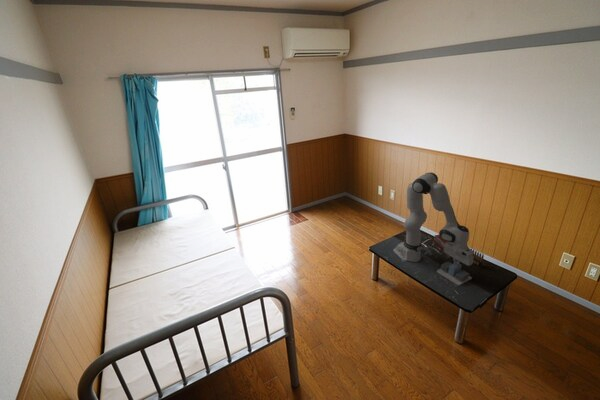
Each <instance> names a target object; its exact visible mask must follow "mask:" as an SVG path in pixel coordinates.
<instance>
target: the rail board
mask: <svg viewBox="0 0 600 400" xmlns="http://www.w3.org/2000/svg"><path fill="white" fill-rule="evenodd" d="M452 264H453V263H452V262H451V261H444V262H443V263H442V264H440V268H439V269H437V270H436V273H438V274H440V275H441V276H443V277H444V278H446V279H447V280H449V281H450V282H452V283H453V284H455V285H457V286H458V287H460V286H462V285H463V284H465V283H466V282H468V281H470V280H472V279H473V278H472V277H471V276H470V273H469V272H467V271H466V270H464V269H461V271H460V272H458V273H456V275H455V276H451V275H450V274H448V271H449V266H450V265H452Z"/></svg>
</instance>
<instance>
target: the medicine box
mask: <svg viewBox="0 0 600 400" xmlns="http://www.w3.org/2000/svg"><path fill="white" fill-rule="evenodd" d="M446 242H447V241H444V240H442V239H441V238H440V236H439V234H435V235H434V239H433V243H434V245H435V246H436V247H438V249H440V250H441V251H442V252H443V253H444V248H445V244H446ZM449 243H451V244H453V242H449Z"/></svg>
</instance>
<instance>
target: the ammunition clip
mask: <svg viewBox="0 0 600 400" xmlns="http://www.w3.org/2000/svg"><path fill="white" fill-rule="evenodd" d="M470 249H471V250H472V251H473V252H474V254H473V264H472V265H474V266H476V267H477V266H478V267H477V268H479V267H480V268H479V269H481V268H483V263H484V257H485V256H484V253H482V252H479V251H478V252H477V250H475V249H473V248H472V247H471V248H470Z"/></svg>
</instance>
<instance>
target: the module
mask: <svg viewBox="0 0 600 400" xmlns="http://www.w3.org/2000/svg"><path fill="white" fill-rule="evenodd" d="M462 265H463V264H461V262H459V265H457V264H455V263H454V262H453V263H452V265H450V266H449V271H448V274H450V275H451V276H455V275H456V273H458V272H460V271H462Z"/></svg>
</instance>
